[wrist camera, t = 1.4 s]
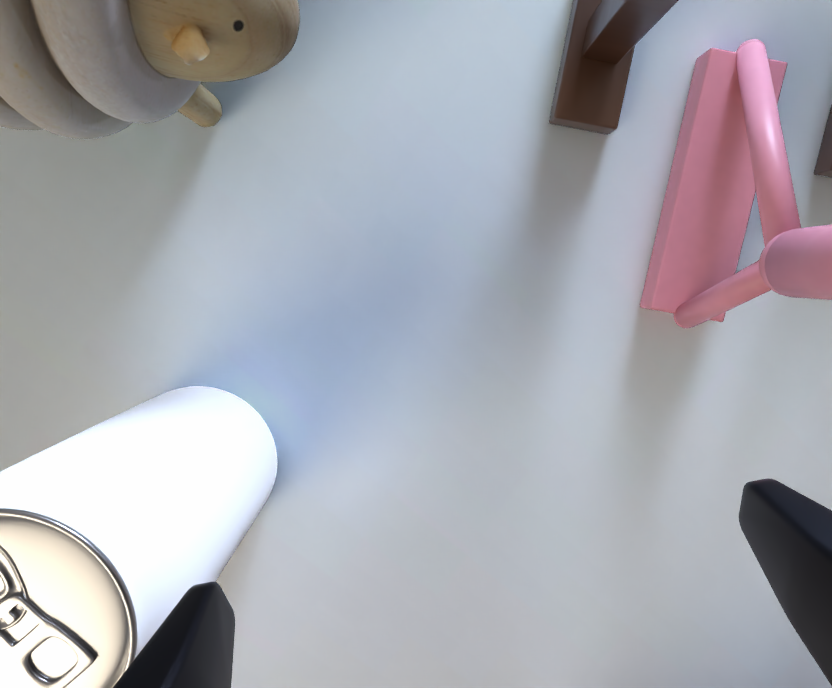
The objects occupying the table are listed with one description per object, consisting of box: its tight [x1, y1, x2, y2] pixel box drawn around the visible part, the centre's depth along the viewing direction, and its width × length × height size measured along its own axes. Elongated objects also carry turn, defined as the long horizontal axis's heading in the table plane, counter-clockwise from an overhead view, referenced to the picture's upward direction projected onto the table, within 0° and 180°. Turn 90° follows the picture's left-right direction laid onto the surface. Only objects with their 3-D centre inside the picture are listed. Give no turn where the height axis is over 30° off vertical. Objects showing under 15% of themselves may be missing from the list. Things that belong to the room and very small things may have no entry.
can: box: [0, 386, 277, 688], centre depth 18 cm, size 6×6×12 cm
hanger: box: [640, 39, 832, 328], centre depth 17 cm, size 11×3×12 cm, turn 170°
